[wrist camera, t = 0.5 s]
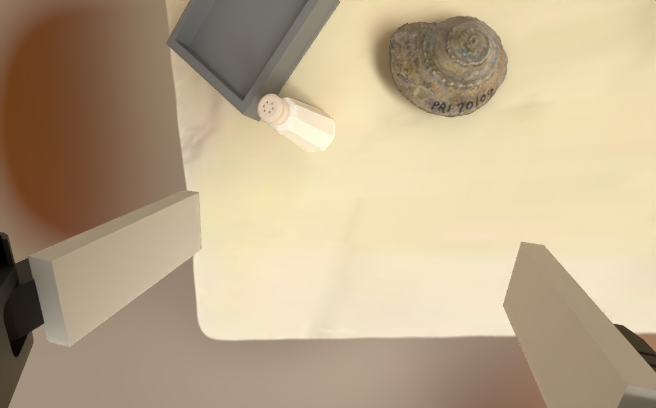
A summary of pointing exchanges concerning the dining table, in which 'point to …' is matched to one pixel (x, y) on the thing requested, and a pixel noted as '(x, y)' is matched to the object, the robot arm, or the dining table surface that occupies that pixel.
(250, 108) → the parts tray
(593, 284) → the dining table surface
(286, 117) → the salt shaker
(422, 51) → the fossilized seashell
